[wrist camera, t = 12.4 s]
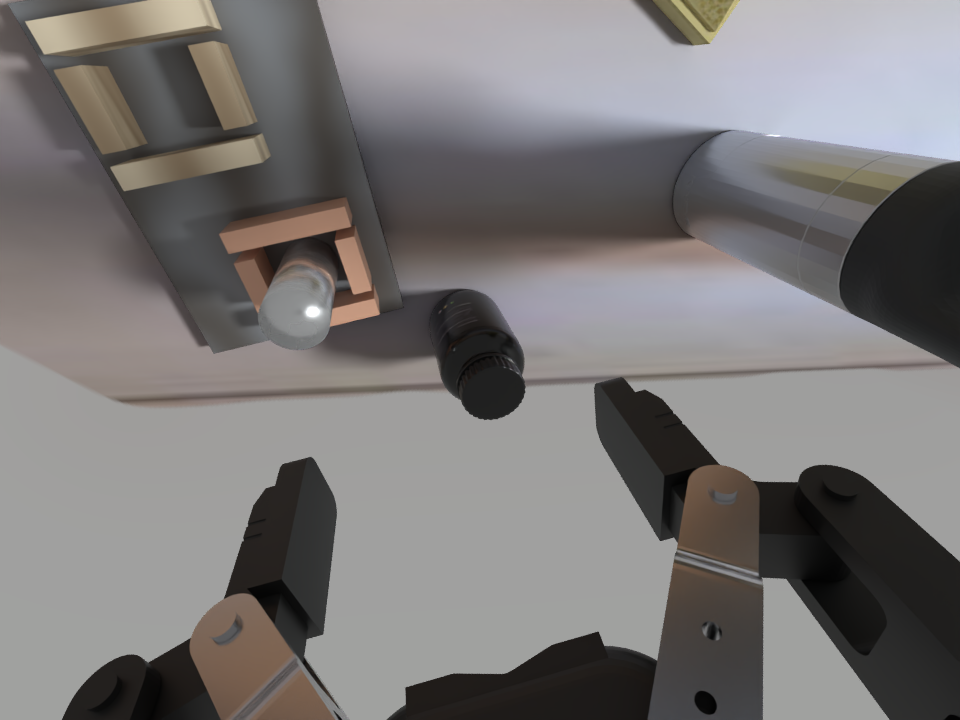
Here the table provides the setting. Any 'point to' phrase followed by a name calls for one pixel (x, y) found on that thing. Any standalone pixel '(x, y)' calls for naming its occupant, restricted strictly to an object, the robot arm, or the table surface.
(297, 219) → the socket
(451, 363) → the supplement bottle
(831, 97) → the table surface
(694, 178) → the robot arm
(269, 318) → the peg
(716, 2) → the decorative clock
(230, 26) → the mount board
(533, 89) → the table surface
